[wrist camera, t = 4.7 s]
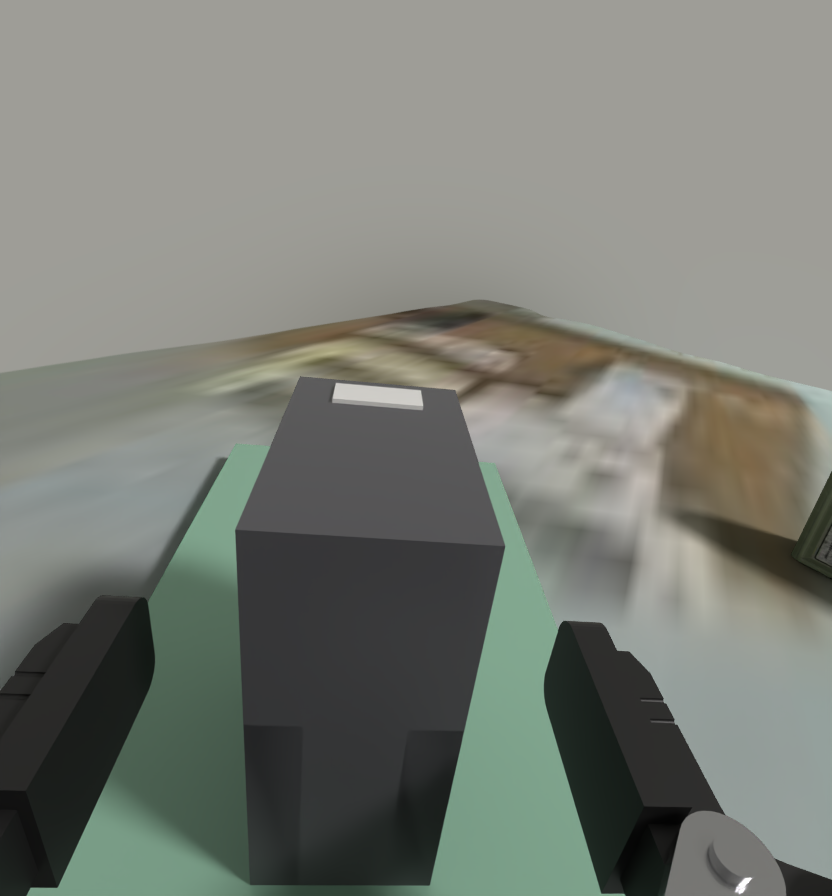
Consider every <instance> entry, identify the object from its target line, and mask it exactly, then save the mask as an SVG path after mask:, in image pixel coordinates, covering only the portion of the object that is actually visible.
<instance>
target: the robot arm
mask: <svg viewBox="0 0 832 896" xmlns="http://www.w3.org/2000/svg"><path fill="white" fill-rule="evenodd" d="M154 668H155V651H154V643H153V636H152V629H151V621H150V614H149V606H148V602H147V600H146V599H145V598H143V597H124V596H105V595H102V596H100V597H98V598H97V599H96V600H95V601H94V603H93V604H92V606H91V607H90V609H89V610H88V612H87V613H86V614H85V616H84V617H83V619H82V620H81V622H80V623H79V624H71V623H63V624H62V625H61V626H59V627H58V628H57V629H55V630H54V631H53V632H51V633H50V634H49V635H47V636H46V637H45V638H43V639H42V640H41V641H39V642H38V643H37V644H35V645H34V647H33V648H32V649H31V651H30V652H29V654H28V655H27V656H26V658H25V659H24V660H23V662H22V663H21V664H20V666H19V667H18V668H17V670H16V671H15V675H14V676H11V678H10V679H9V680H8V682H7V683H6V684H5V686H4V687H3V688H2V690H1V691H0V896H27V894H28V892H29V890H30V888H58V886H59V884H60V882H61V880H62V878H63V875H64V873H65V871H66V869H67V867H68V865H69V862H70V860H71V858H72V856H73V854H74V851H75V849H76V847H77V845H78V843H79V841H80V838H81V836H82V834H83V832H84V830H85V828H86V825H87V823H88V821H89V819H90V817H91V815H92V812H93V810H94V808H95V806H96V804H97V802H98V799H99V797H100V795H101V793H102V791H103V789H104V786H105V784H106V782H107V780H108V778H109V776H110V773H111V771H112V769H113V767H114V765H115V763H116V760H117V758H118V756H119V754H120V752H121V750H122V747H123V745H124V743H125V741H126V739H127V736H128V734H129V732H130V730H131V728H132V726H133V723H134V721H135V719H136V717H137V715H138V713H139V710H140V708H141V706H142V704H143V702H144V700H145V697H146V695H147V693H148V691H149V688H150V685H151V682H152V678H153V674H154ZM544 699H545V705H546V709H547V712H548V716H549V719H550V722H551V726H552V729H553V733H554V736H555V739H556V743H557V746H558V749H559V753H560V756H561V760H562V763H563V766H564V770H565V773H566V776H567V780H568V783H569V786H570V790H571V793H572V797H573V800H574V803H575V807H576V810H577V813H578V817H579V820H580V824H581V827H582V830H583V834H584V837H585V840H586V844H587V847H588V850H589V854H590V857H591V861H592V864H593V867H594V871H595V874H596V877H597V881H598V884H599V888H600V891H601V894H625V896H832V880H831V879H828V878H825V877H822V876H820V875H817V874H814V873H811V872H808V871H806V870H803V869H800V868H797V867H795V866H792V865H789V864H786V863H784V862H782V861H779V860H777V859H775V858H774V857H773V856H772V854H771V853H770V851H769V850H768V849H767V847H766V846H765V845H764V844H763V843H762V841H761V840H760V839H759V838H758V837H757V836H756V835H755V834H754V833H752V832H751V831H750V830H749V829H747V828H746V827H745V826H743V825H742V824H740V823H739V822H738V821H736V820H734V819H732V818H730V817H728V816H726V815H725V814H724V812H723V810H722V808H721V807H720V805H719V803H718V801H717V799H716V798H715V796H714V794H713V792H712V790H711V788H710V786H709V784H708V782H707V780H706V779H705V777H704V775H703V773H702V771H701V769H700V767H699V765H698V763H697V761H696V759H695V758H694V756H693V754H692V752H691V750H690V748H689V746H688V744H687V742H686V740H685V739H684V737H683V735H682V733H681V731H680V729H679V727H678V725H675V723H674V718H673V716H672V714H671V712H670V710H669V708H668V706H667V704H665V703H664V702H663V697H662V695H661V693H660V691H659V689H658V687H657V685H656V683H655V681H654V679H653V678H652V676H651V674H650V673H649V672H648V671H647V670H646V669H645V667H644V666H643V665H642V664H641V663H640V662H639V661H638V660H637V659H636V658H635V657H634V656H633V655H632V654H631V653H630V652H628V651H617V650H616V648H615V645H614V643H613V641H612V639H611V637H610V635H609V633H608V631H607V629H606V627H605V626H604V625H603V624H602V623H595V622H576V621H563V622H562V623H561V625H560V627H559V629H558V633H557V636H556V639H555V643H554V646H553V649H552V652H551V656H550V659H549V662H548V666H547V669H546V672H545V677H544Z"/></svg>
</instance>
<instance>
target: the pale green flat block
mask: <svg viewBox="0 0 832 896" xmlns="http://www.w3.org/2000/svg"><path fill="white" fill-rule="evenodd" d="M269 449H270V446H260V445H247V444H236V445H235V446H234V448H233V450H232V452H231V454H230V455H229V457H228V459H227V461H226V463H225V464H224V466H223V468H222V470H221V472H220V473H219V475H218V477H217V479H216V481H215V482H214V484H213V486H212V488H211V490H210V491H209V493H208V495H207V497H206V499H205V500H204V502H203V504H202V506H201V507H200V509H199V511H198V513H197V515H196V516H195V518H194V520H193V522H192V524H191V525H190V527H189V529H188V531H187V533H186V534H185V536H184V538H183V540H182V542H181V543H180V545H179V547H178V549H177V551H176V552H175V554H174V556H173V558H172V560H171V561H170V563H169V565H168V567H167V569H166V570H165V572H164V574H163V576H162V578H161V579H160V581H159V583H158V585H157V586H156V588H155V590H154V592H153V594H152V595H151V597H150V599H149V601H148V606H149V614H150V621H151V629H152V636H153V643H154V651H155V668H154V674H153V678H152V682H151V685H150V688H149V691H148V693H147V695H146V697H145V700H144V702H143V704H142V706H141V708H140V710H139V713H138V715H137V717H136V719H135V721H134V723H133V726H132V728H131V730H130V732H129V734H128V736H127V739H126V741H125V743H124V745H123V747H122V750H121V752H120V754H119V756H118V758H117V760H116V763H115V765H114V767H113V769H112V771H111V773H110V776H109V778H108V780H107V782H106V784H105V786H104V789H103V791H102V793H101V795H100V797H99V799H98V802H97V804H96V806H95V808H94V810H93V812H92V815H91V817H90V819H89V821H88V823H87V825H86V828H85V830H84V832H83V834H82V836H81V838H80V841H79V843H78V845H77V847H76V849H75V851H74V854H73V856H72V858H71V860H70V862H69V865H68V867H67V869H66V871H65V873H64V875H63V878H62V880H61V882H60V884H59V886H58V888H30V890H29V892H28V894H27V896H625V894H601V891H600V888H599V884H598V881H597V877H596V874H595V871H594V867H593V864H592V861H591V857H590V854H589V850H588V847H587V844H586V840H585V837H584V834H583V830H582V827H581V824H580V820H579V817H578V813H577V810H576V807H575V803H574V800H573V797H572V793H571V790H570V786H569V783H568V780H567V776H566V773H565V770H564V766H563V763H562V760H561V756H560V753H559V749H558V746H557V743H556V739H555V736H554V733H553V729H552V726H551V722H550V719H549V716H548V712H547V709H546V705H545V699H544V677H545V672H546V669H547V666H548V662H549V659H550V656H551V652H552V649H553V646H554V643H555V639H556V636H557V633H558V629H557V626H556V624H555V621H554V618H553V616H552V613H551V611H550V608H549V605H548V603H547V600H546V597H545V595H544V592H543V589H542V587H541V584H540V581H539V579H538V576H537V574H536V571H535V568H534V566H533V563H532V560H531V558H530V555H529V552H528V550H527V547H526V544H525V542H524V539H523V537H522V534H521V531H520V529H519V526H518V523H517V521H516V518H515V515H514V513H513V510H512V507H511V505H510V502H509V500H508V497H507V494H506V492H505V489H504V486H503V484H502V481H501V478H500V476H499V473H498V470H497V468H496V465H495V463H485V462H478V463H479V466H480V469H481V472H482V475H483V478H484V481H485V484H486V487H487V490H488V494H489V497H490V500H491V503H492V506H493V509H494V512H495V515H496V518H497V521H498V525H499V528H500V531H501V534H502V537H503V540H504V543H505V551H504V555H503V560H502V564H501V569H500V573H499V578H498V582H497V587H496V591H495V596H494V600H493V605H492V609H491V614H490V618H489V623H488V627H487V631H486V636H485V640H484V645H483V649H482V654H481V658H480V663H479V667H478V672H477V676H476V681H475V685H474V690H473V694H472V699H471V703H470V708H469V712H468V717H467V721H466V726H465V730H464V735H463V739H462V744H461V748H460V753H459V757H458V762H457V766H456V771H455V775H454V779H453V784H452V788H451V793H450V797H449V802H448V806H447V811H446V815H445V820H444V824H443V829H442V833H441V838H440V842H439V847H438V851H437V856H436V860H435V865H434V869H433V874H432V878H431V883H430V886H377V885H250V872H249V848H248V825H247V801H246V777H245V753H244V729H243V705H242V681H241V657H240V634H239V610H238V586H237V562H236V538H235V529H236V526H237V524H238V522H239V519H240V517H241V515H242V512H243V510H244V508H245V505H246V503H247V501H248V498H249V496H250V493H251V491H252V489H253V486H254V484H255V482H256V479H257V477H258V475H259V472H260V470H261V468H262V465H263V463H264V461H265V458H266V456H267V453H268V451H269Z"/></svg>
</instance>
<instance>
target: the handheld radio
mask: <svg viewBox="0 0 832 896" xmlns="http://www.w3.org/2000/svg"><path fill="white" fill-rule="evenodd" d="M791 555H792V557H793V558H795V559H796V560H797V561H799V562H801V563H803V564H805V565H807V566H808V567H810V568H812V569H814V570H816V571H818V572H820V573H822V574H824V575H826V576H828V577H829V578H831V579H832V472H831V474H830V476H829V478H828V480H827V482H826V484H825V486H824V488H823V490H822V492H821V494H820V496H819V498H818V501H817V503H816V505H815V507H814V509H813V511H812V513H811V515H810V517H809V519H808V521H807V523H806V525H805V527H804V529H803V531H802V533H801V535H800V537H799V539H798V541H797V544H796V546H795V548H794V550H793V552H792V554H791Z"/></svg>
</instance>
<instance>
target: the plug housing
mask: <svg viewBox="0 0 832 896" xmlns="http://www.w3.org/2000/svg"><path fill="white" fill-rule="evenodd" d="M235 538H236V562H237V586H238V610H239V634H240V657H241V681H242V705H243V729H244V753H245V777H246V801H247V825H248V848H249V872H250V885H377V886H430V883H431V878H432V874H433V869H434V865H435V860H436V856H437V851H438V847H439V842H440V838H441V833H442V829H443V824H444V820H445V815H446V811H447V806H448V802H449V797H450V793H451V788H452V784H453V779H454V775H455V771H456V766H457V762H458V757H459V753H460V748H461V744H462V739H463V735H464V730H465V726H466V721H467V717H468V712H469V708H470V703H471V699H472V694H473V690H474V685H475V681H476V676H477V672H478V667H479V663H480V658H481V654H482V649H483V645H484V640H485V636H486V631H487V627H488V623H489V618H490V614H491V609H492V605H493V600H494V596H495V591H496V587H497V582H498V578H499V573H500V569H501V564H502V560H503V555H504V551H505V543H504V540H503V537H502V534H501V531H500V528H499V525H498V521H497V518H496V515H495V512H494V509H493V506H492V503H491V500H490V497H489V494H488V490H487V487H486V484H485V481H484V478H483V475H482V472H481V469H480V466H479V463H478V459H477V456H476V453H475V450H474V447H473V444H472V441H471V438H470V435H469V432H468V428H467V425H466V422H465V419H464V416H463V413H462V410H461V407H460V404H459V401H458V397H457V394H456V391H455V390H448V389H436V388H425V387H414V386H402V385H391V384H379V383H368V382H357V381H345V380H334V379H322V378H311V377H300V378H299V380H298V383H297V385H296V387H295V390H294V392H293V395H292V397H291V399H290V402H289V404H288V406H287V409H286V411H285V413H284V416H283V418H282V420H281V423H280V425H279V428H278V430H277V432H276V435H275V437H274V439H273V442H272V444H271V446H270V449H269V451H268V453H267V456H266V458H265V461H264V463H263V465H262V468H261V470H260V472H259V475H258V477H257V479H256V482H255V484H254V486H253V489H252V491H251V493H250V496H249V498H248V501H247V503H246V505H245V508H244V510H243V512H242V515H241V517H240V519H239V522H238V524H237V526H236V529H235Z"/></svg>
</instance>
